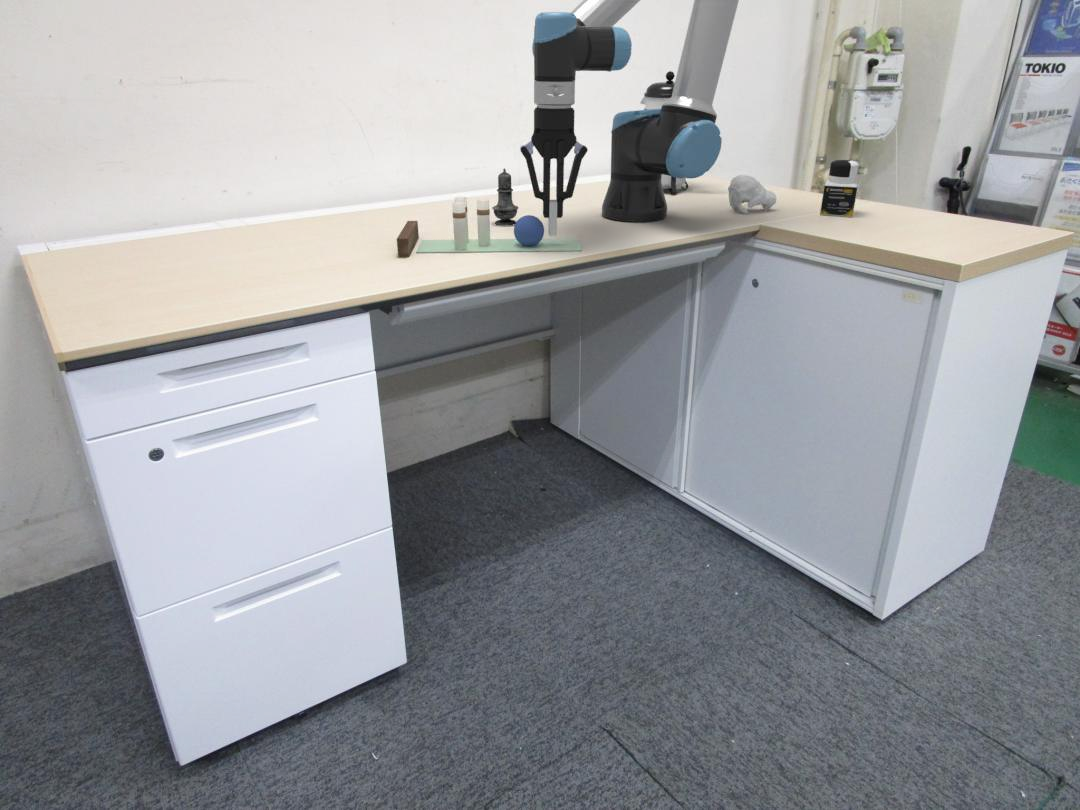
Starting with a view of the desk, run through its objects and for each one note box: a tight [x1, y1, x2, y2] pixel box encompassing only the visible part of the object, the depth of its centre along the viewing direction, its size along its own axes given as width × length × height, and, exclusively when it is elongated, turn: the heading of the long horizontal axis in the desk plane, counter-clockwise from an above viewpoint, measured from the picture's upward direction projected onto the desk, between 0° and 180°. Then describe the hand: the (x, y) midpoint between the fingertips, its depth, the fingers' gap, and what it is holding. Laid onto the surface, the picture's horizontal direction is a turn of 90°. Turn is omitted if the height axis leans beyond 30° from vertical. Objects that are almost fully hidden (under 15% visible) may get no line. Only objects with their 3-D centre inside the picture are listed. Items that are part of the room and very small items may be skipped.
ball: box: [513, 214, 545, 246], centre depth 148 cm, size 6×6×6 cm
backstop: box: [396, 220, 420, 258], centre depth 148 cm, size 2×16×4 cm, turn 2°
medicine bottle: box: [819, 159, 860, 218], centre depth 174 cm, size 7×7×12 cm
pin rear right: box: [454, 196, 470, 243], centre depth 149 cm, size 2×2×9 cm
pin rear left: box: [451, 201, 467, 250], centre depth 144 cm, size 2×2×9 cm
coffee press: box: [640, 70, 689, 196], centre depth 199 cm, size 17×16×30 cm
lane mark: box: [415, 237, 582, 254], centre depth 149 cm, size 32×10×1 cm, turn 92°
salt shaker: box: [491, 168, 519, 226], centre depth 165 cm, size 6×6×12 cm
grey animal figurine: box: [727, 174, 777, 215], centre depth 178 cm, size 6×8×12 cm
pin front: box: [476, 198, 491, 247], centre depth 147 cm, size 2×2×9 cm
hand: (552, 234), depth 148 cm, fingers closed
